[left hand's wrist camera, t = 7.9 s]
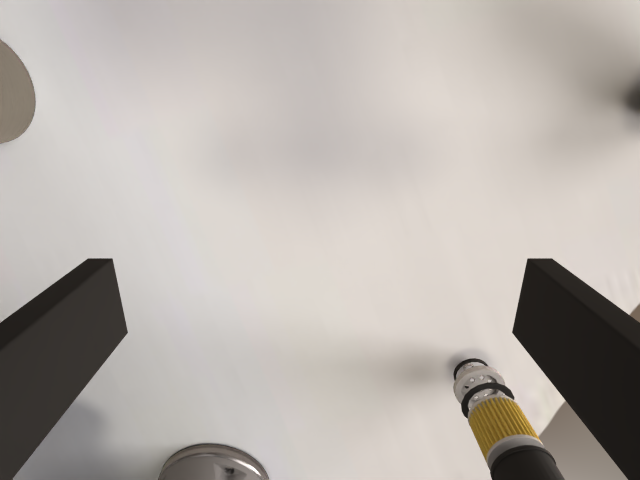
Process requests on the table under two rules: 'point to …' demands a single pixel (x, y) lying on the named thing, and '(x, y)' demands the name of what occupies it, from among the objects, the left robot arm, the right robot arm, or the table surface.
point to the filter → (501, 427)
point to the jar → (14, 95)
